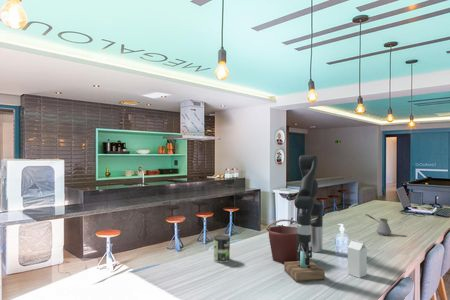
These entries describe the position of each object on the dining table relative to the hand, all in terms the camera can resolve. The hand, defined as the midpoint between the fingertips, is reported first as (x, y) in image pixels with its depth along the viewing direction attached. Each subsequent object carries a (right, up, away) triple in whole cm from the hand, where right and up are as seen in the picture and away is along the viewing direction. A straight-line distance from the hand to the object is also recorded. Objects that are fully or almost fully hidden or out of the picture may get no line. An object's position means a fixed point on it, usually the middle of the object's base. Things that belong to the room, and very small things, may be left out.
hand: (303, 262), depth 169 cm
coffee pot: (+87, -10, +94) cm, 128 cm away
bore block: (0, -7, 0) cm, 7 cm away
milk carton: (+30, -8, +2) cm, 31 cm away
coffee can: (-46, -7, +23) cm, 52 cm away
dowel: (0, -6, 0) cm, 6 cm away
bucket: (-5, -8, +25) cm, 27 cm away
